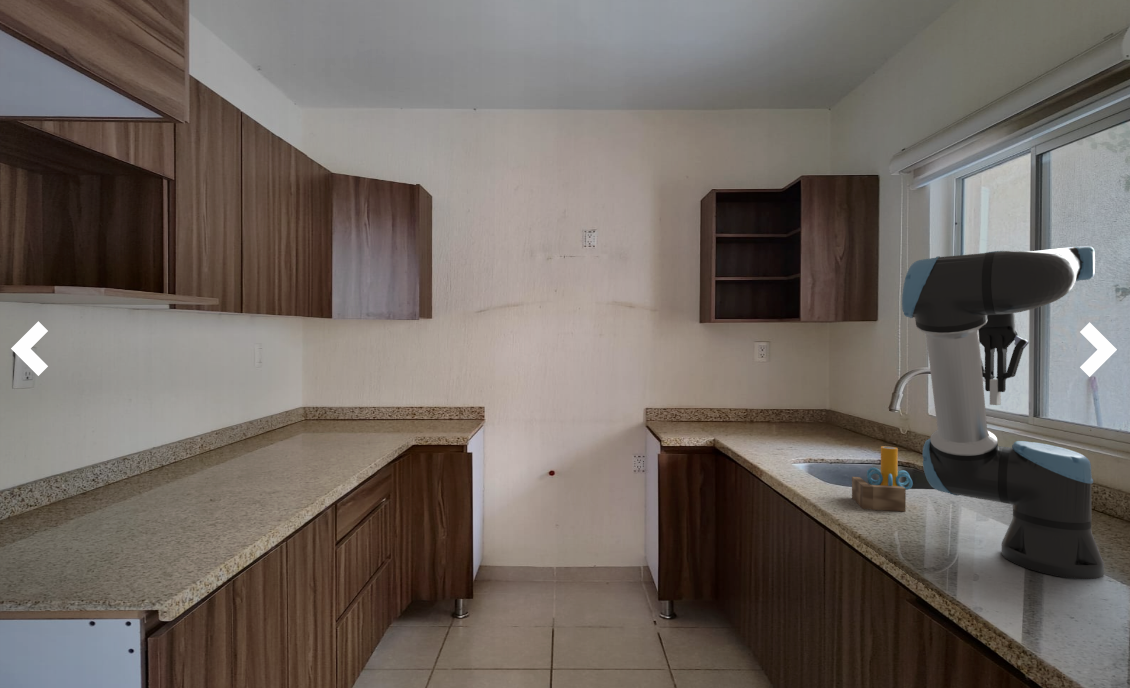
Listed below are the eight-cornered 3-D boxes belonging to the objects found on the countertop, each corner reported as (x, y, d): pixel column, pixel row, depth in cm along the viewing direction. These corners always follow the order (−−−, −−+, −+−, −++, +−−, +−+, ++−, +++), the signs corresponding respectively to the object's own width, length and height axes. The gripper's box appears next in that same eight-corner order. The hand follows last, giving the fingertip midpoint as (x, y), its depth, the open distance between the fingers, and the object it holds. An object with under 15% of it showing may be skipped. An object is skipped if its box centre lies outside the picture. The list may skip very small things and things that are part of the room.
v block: (854, 497, 151) (854, 476, 151) (908, 510, 139) (908, 487, 139) (837, 502, 147) (837, 480, 147) (891, 516, 135) (891, 492, 135)
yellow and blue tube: (866, 493, 155) (866, 442, 155) (908, 498, 150) (908, 445, 150) (868, 505, 144) (868, 449, 144) (913, 511, 139) (914, 453, 139)
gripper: (1033, 312, 134) (1032, 406, 133) (971, 314, 144) (970, 401, 144) (1023, 310, 129) (1022, 407, 129) (960, 313, 140) (959, 402, 140)
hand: (995, 404), depth 137 cm, fingers closed
